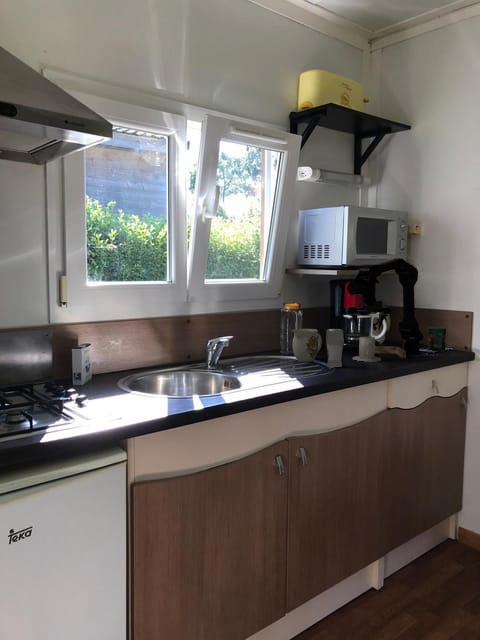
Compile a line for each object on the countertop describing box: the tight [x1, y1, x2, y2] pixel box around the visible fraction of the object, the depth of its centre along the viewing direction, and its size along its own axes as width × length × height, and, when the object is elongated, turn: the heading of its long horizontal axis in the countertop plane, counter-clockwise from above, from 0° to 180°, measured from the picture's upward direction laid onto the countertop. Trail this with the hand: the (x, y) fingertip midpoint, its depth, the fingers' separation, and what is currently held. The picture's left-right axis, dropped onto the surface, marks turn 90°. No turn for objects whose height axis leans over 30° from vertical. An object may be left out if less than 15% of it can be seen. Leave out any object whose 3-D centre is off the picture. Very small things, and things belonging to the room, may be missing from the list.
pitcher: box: [291, 328, 323, 363], centre depth 236 cm, size 11×18×14 cm, turn 130°
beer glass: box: [325, 328, 345, 369], centre depth 222 cm, size 7×7×15 cm
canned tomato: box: [427, 326, 447, 353], centre depth 262 cm, size 8×8×11 cm
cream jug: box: [358, 336, 376, 360], centre depth 236 cm, size 9×7×9 cm
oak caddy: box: [375, 346, 407, 359], centre depth 248 cm, size 15×14×3 cm
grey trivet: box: [352, 355, 382, 363], centre depth 238 cm, size 12×12×1 cm
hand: (368, 330), depth 237 cm, fingers open, 9 cm apart
